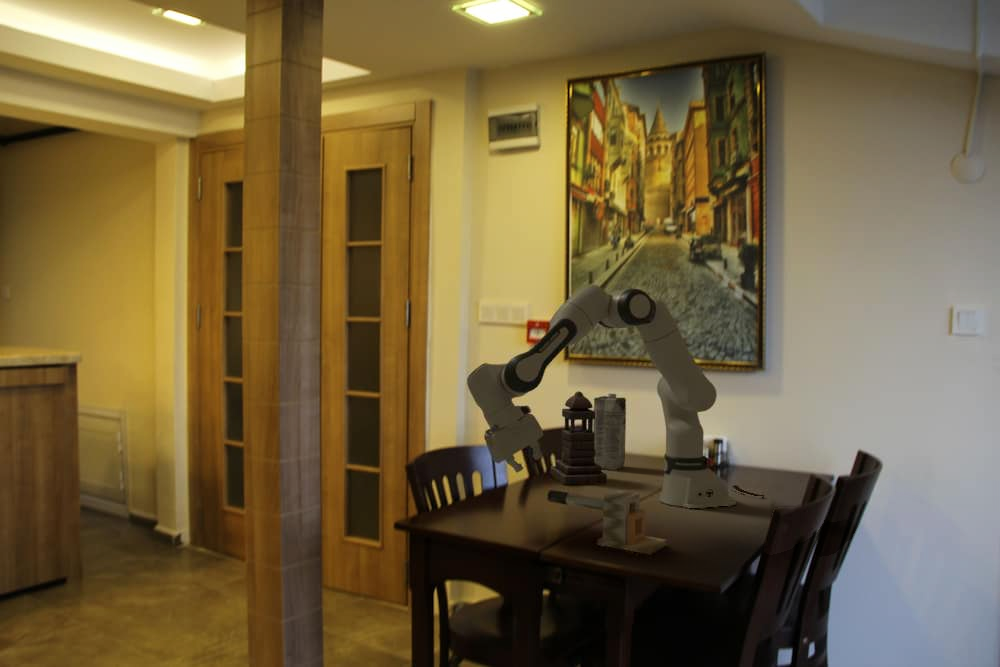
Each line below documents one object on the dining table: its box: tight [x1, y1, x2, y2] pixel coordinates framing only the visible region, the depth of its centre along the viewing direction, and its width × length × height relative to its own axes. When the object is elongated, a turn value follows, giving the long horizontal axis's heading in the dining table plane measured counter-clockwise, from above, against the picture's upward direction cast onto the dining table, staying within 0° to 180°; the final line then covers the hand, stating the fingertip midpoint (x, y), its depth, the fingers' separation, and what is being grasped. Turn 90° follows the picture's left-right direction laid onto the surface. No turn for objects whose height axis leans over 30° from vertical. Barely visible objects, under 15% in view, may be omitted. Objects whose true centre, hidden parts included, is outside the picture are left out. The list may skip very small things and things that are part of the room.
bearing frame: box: [597, 489, 667, 554], centre depth 202 cm, size 14×10×12 cm
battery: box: [593, 393, 627, 471], centre depth 296 cm, size 9×10×27 cm
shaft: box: [547, 489, 604, 511], centre depth 210 cm, size 18×3×3 cm, turn 56°
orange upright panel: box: [626, 508, 646, 544], centre depth 202 cm, size 2×7×7 cm, turn 146°
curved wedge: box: [732, 485, 764, 496], centre depth 259 cm, size 8×14×2 cm, turn 0°
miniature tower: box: [549, 390, 608, 486], centre depth 276 cm, size 16×15×30 cm
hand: (529, 464), depth 221 cm, fingers open, 8 cm apart
